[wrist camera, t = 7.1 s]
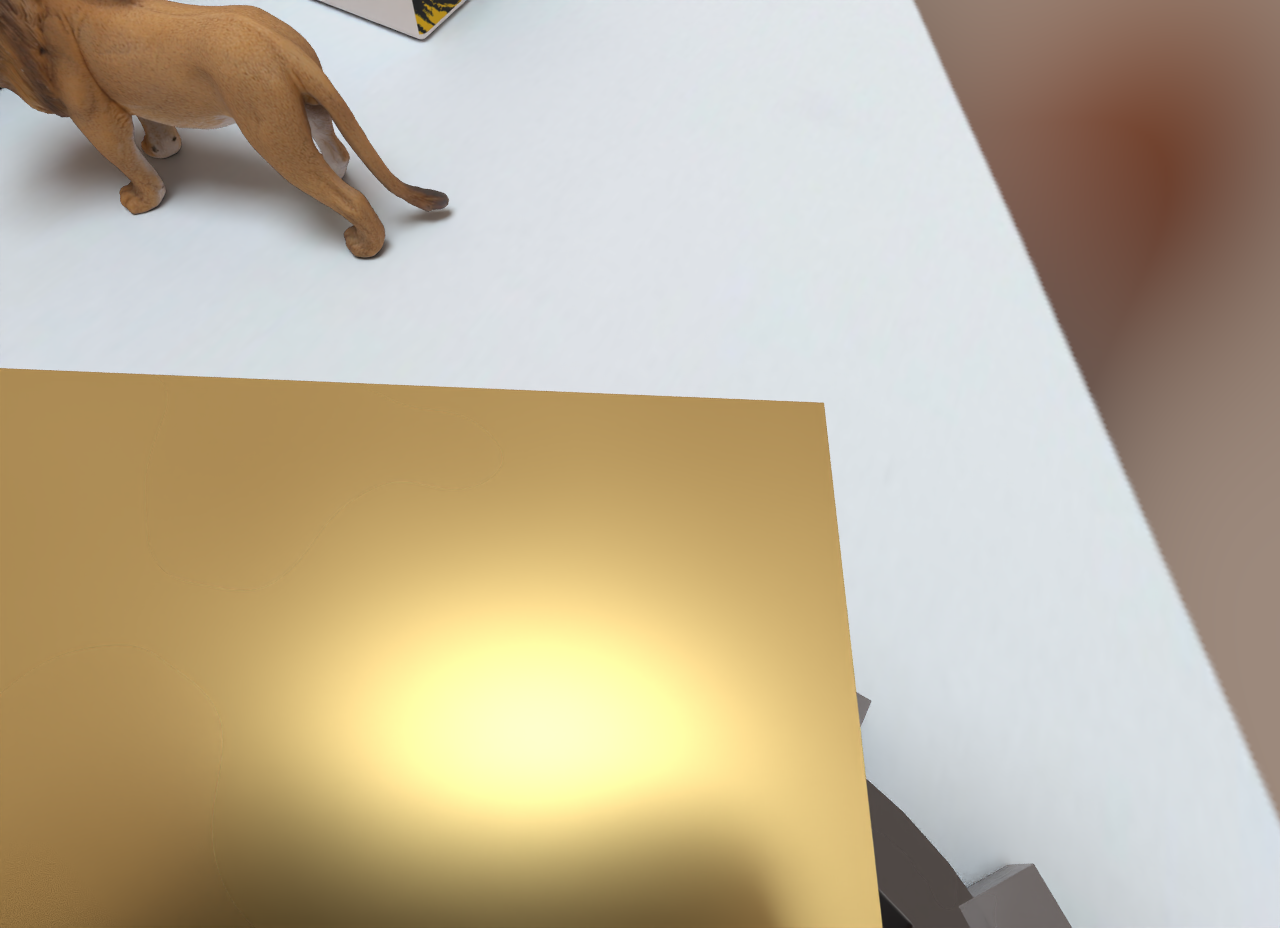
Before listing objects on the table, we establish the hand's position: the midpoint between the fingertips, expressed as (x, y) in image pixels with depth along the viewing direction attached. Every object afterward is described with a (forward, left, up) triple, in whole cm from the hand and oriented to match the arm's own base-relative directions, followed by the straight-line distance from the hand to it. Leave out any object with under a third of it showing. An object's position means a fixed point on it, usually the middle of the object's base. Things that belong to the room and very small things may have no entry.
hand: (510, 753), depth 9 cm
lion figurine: (+17, +15, -11) cm, 26 cm away
